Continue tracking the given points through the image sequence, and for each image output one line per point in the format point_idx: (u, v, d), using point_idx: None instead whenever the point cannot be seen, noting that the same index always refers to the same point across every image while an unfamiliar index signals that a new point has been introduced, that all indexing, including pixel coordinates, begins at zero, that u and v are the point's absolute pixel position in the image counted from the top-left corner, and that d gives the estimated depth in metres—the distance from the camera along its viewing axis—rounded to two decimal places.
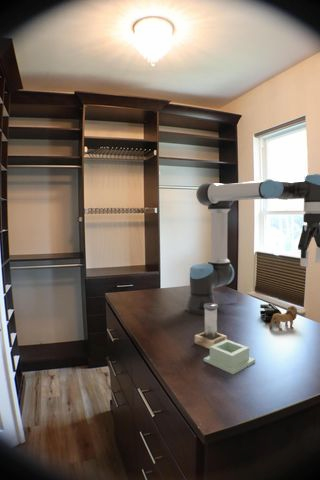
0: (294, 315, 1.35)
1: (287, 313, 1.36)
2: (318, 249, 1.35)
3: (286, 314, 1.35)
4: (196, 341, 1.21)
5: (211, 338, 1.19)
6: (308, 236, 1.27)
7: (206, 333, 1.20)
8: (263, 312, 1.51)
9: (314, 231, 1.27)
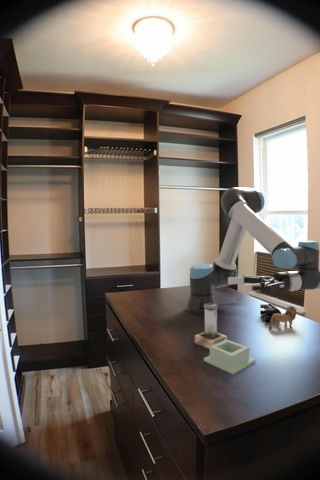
0: (293, 315, 1.35)
1: (286, 313, 1.35)
2: (242, 279, 1.29)
3: (285, 314, 1.35)
4: (196, 341, 1.21)
5: (211, 338, 1.19)
6: None
7: (206, 333, 1.20)
8: (263, 312, 1.51)
9: None
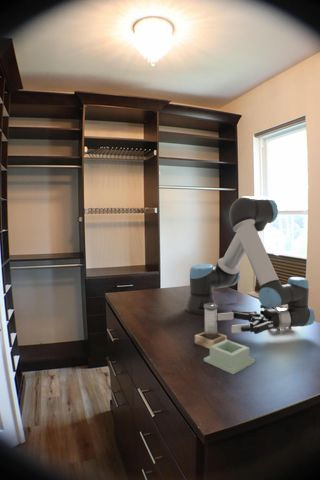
0: None
1: None
2: (231, 315, 1.28)
3: None
4: (196, 341, 1.21)
5: (211, 338, 1.19)
6: (259, 325, 1.19)
7: (206, 333, 1.20)
8: None
9: None
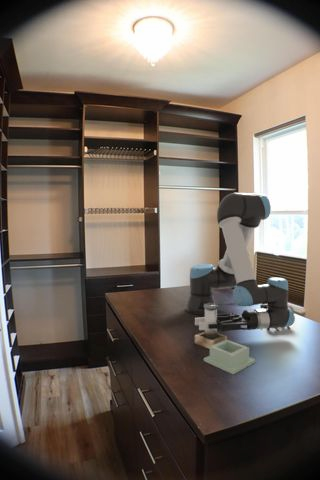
0: None
1: None
2: None
3: None
4: (196, 341, 1.21)
5: (211, 338, 1.19)
6: None
7: (206, 333, 1.20)
8: None
9: None
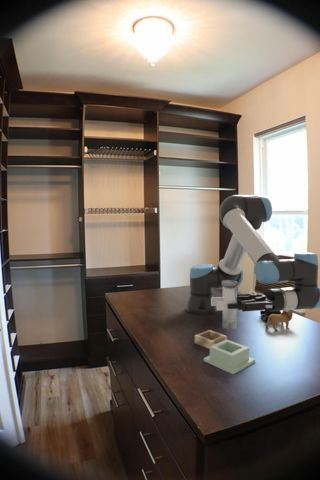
0: (290, 316, 1.35)
1: (283, 314, 1.35)
2: None
3: (282, 315, 1.34)
4: (196, 341, 1.21)
5: (230, 320, 1.03)
6: None
7: (224, 315, 1.04)
8: (263, 312, 1.51)
9: None
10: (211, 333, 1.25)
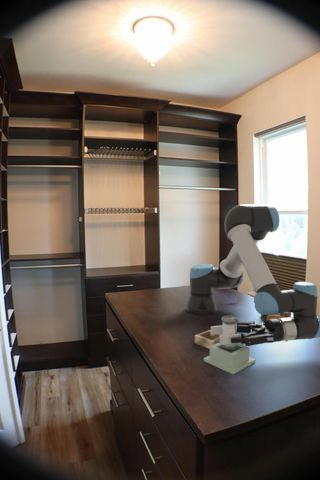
0: (288, 316, 1.34)
1: (281, 314, 1.34)
2: None
3: (280, 315, 1.34)
4: (196, 341, 1.21)
5: None
6: None
7: None
8: None
9: None
10: None
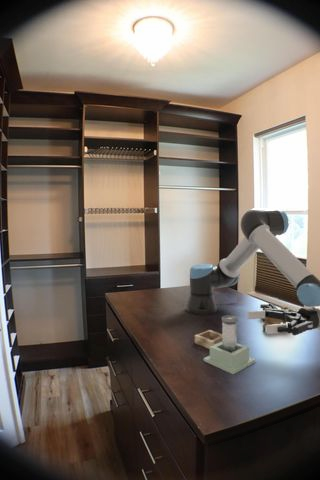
0: None
1: None
2: (263, 314, 1.15)
3: None
4: (196, 341, 1.21)
5: None
6: (296, 325, 1.06)
7: None
8: None
9: None
10: (211, 333, 1.25)
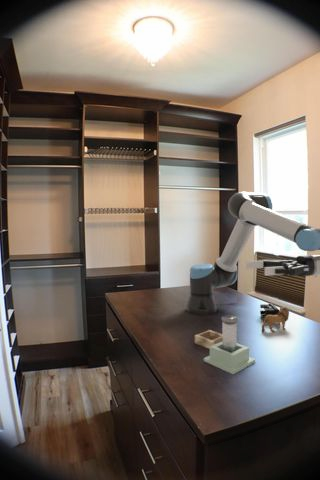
0: (286, 316, 1.34)
1: (279, 314, 1.34)
2: (261, 263, 1.20)
3: (278, 315, 1.34)
4: (196, 341, 1.21)
5: None
6: None
7: None
8: (263, 312, 1.51)
9: None
10: (211, 333, 1.25)
